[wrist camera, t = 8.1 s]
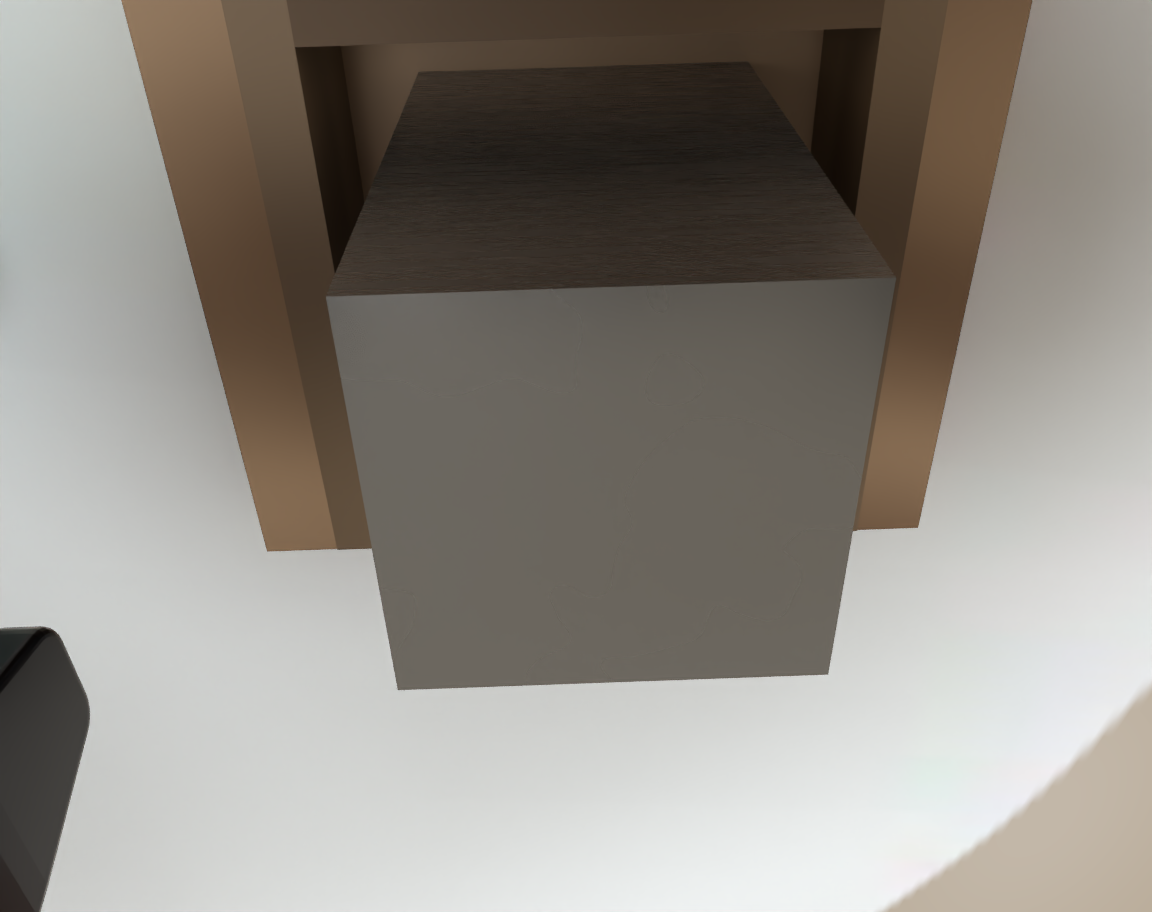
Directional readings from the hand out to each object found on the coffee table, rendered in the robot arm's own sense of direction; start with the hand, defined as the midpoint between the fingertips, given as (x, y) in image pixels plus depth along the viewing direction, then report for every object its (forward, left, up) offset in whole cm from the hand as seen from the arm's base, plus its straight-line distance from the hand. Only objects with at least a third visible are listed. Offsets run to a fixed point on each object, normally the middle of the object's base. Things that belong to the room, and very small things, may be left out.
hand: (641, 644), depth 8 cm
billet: (0, 0, -9) cm, 9 cm away
